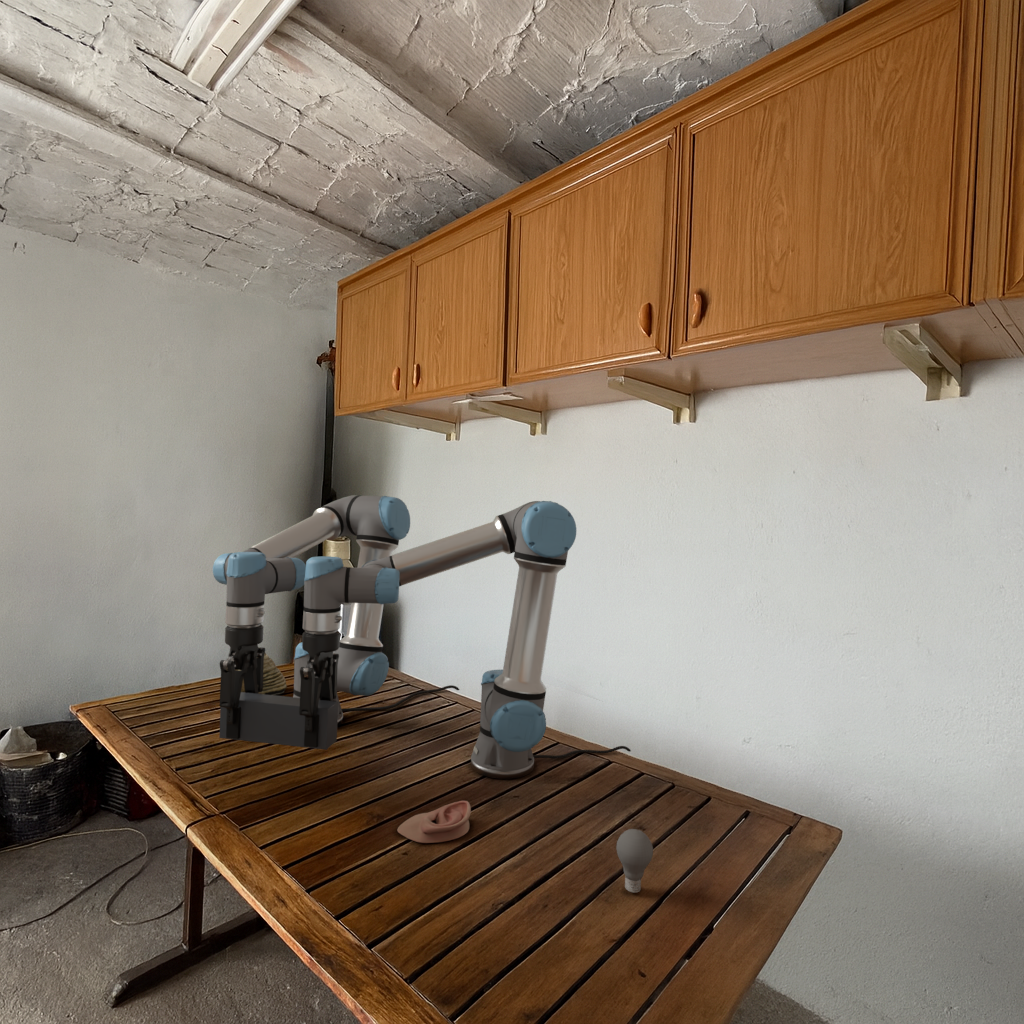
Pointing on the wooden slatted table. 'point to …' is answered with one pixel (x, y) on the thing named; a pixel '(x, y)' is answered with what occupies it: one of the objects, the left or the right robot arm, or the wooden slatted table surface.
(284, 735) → the bar
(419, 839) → the anatomical model
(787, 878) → the wooden slatted table surface
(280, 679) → the fossil
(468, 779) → the wooden slatted table surface
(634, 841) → the light bulb
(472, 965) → the wooden slatted table surface
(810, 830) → the wooden slatted table surface
